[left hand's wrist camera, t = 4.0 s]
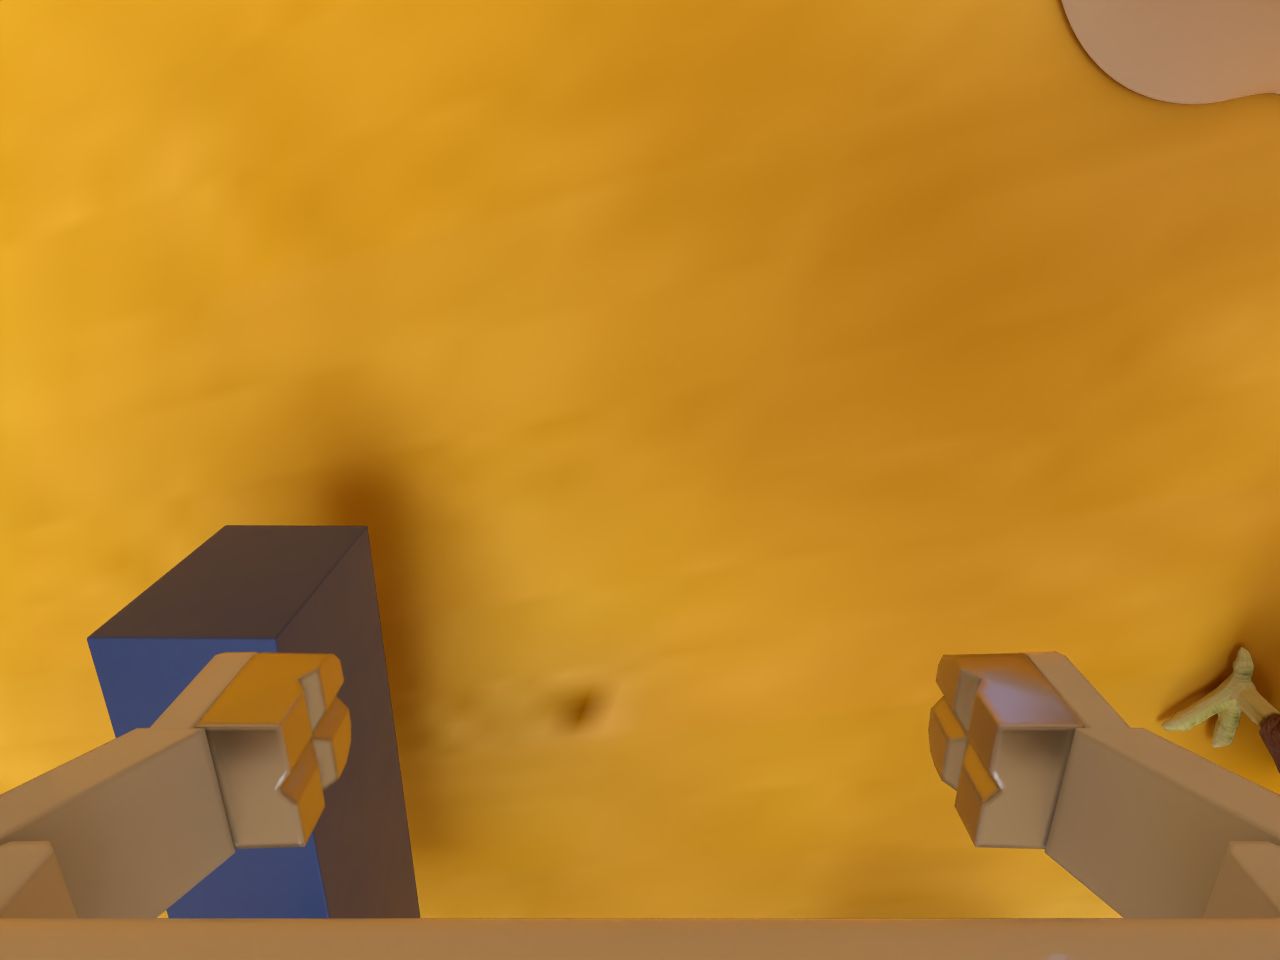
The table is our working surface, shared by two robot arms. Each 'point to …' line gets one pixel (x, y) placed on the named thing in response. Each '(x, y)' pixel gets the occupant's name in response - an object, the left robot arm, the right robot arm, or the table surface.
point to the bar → (282, 623)
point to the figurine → (1233, 709)
